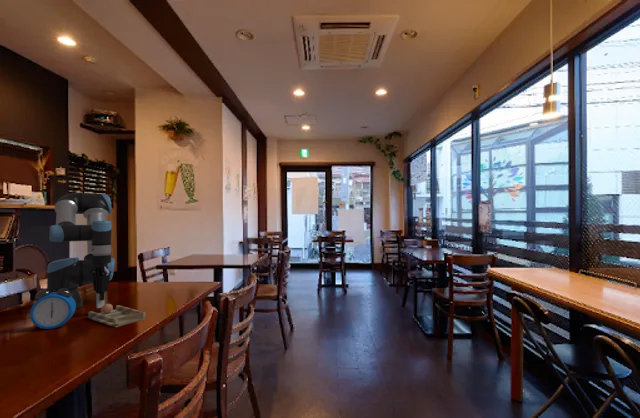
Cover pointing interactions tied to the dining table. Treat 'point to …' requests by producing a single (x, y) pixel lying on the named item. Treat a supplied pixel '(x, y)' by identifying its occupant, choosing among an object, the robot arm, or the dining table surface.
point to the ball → (107, 308)
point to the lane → (118, 316)
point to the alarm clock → (52, 308)
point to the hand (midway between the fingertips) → (100, 307)
